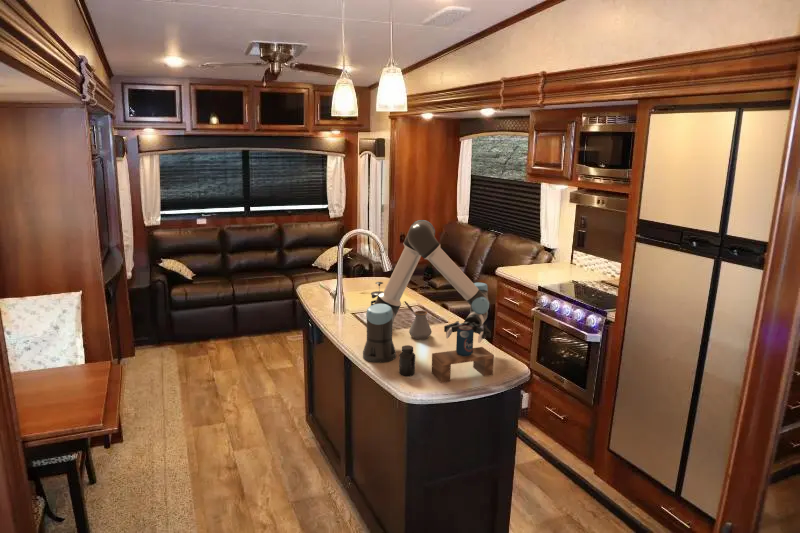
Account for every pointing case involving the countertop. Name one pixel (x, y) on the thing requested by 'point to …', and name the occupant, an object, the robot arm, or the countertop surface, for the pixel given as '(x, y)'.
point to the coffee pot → (419, 325)
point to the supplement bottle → (407, 361)
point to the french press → (376, 293)
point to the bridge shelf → (445, 359)
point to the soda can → (464, 341)
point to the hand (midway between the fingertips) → (462, 337)
